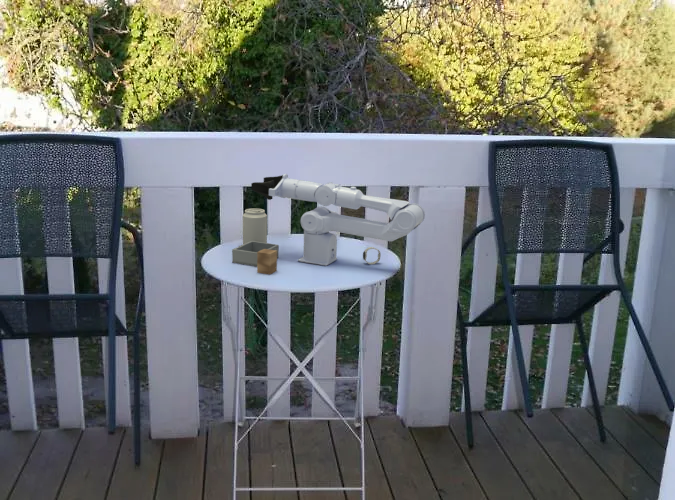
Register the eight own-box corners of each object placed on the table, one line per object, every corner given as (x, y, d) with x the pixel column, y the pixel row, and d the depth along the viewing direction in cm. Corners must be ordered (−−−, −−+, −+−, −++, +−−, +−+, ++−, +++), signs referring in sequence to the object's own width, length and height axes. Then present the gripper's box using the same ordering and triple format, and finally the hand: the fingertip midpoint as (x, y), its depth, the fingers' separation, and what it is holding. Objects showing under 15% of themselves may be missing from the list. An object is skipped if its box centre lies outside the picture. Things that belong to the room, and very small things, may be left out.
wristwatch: (362, 262, 216) (362, 246, 215) (378, 262, 217) (378, 246, 216) (364, 265, 213) (365, 249, 212) (381, 264, 214) (381, 248, 213)
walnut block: (276, 271, 205) (276, 250, 204) (269, 274, 202) (270, 254, 200) (264, 269, 207) (264, 248, 205) (257, 272, 203) (257, 252, 202)
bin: (278, 257, 218) (278, 244, 217) (260, 267, 208) (260, 253, 207) (251, 253, 222) (251, 240, 221) (232, 262, 212) (232, 249, 211)
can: (263, 251, 225) (263, 213, 222) (239, 249, 226) (239, 211, 223) (269, 245, 232) (269, 208, 229) (246, 243, 233) (246, 206, 230)
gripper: (309, 171, 218) (269, 165, 223) (288, 181, 206) (246, 175, 210) (309, 194, 221) (269, 188, 225) (288, 205, 208) (246, 198, 213)
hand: (258, 183), depth 218 cm, fingers open, 7 cm apart
